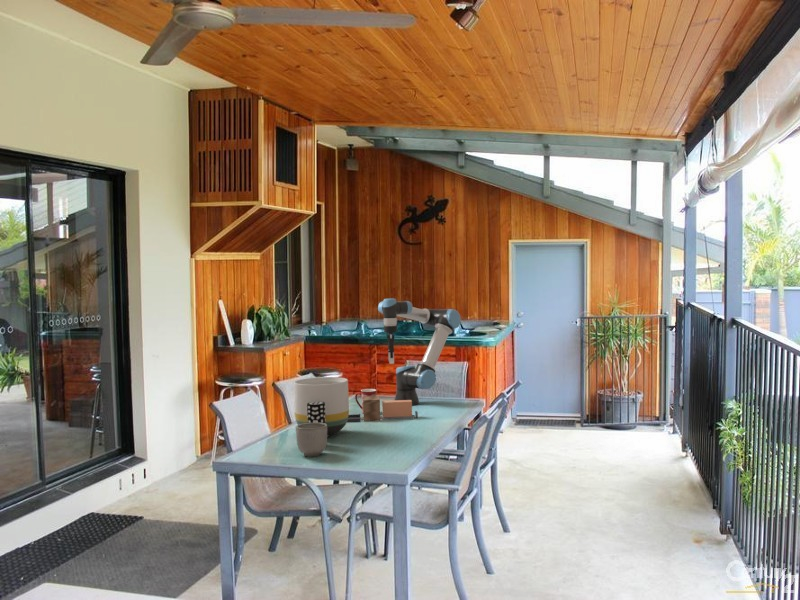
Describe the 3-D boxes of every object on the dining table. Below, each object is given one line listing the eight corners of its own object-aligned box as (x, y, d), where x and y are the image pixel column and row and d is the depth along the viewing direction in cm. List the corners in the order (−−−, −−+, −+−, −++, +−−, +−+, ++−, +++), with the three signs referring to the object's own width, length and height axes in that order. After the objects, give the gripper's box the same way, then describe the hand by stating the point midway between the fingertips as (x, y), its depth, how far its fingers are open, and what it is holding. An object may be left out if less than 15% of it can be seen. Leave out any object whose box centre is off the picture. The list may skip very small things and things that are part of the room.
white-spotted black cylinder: (304, 446, 327) (303, 403, 326) (318, 443, 332) (317, 400, 332) (315, 449, 321) (314, 405, 320) (330, 445, 327) (328, 402, 326)
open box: (363, 421, 380) (363, 400, 380) (363, 417, 392) (363, 396, 392) (380, 420, 380) (379, 399, 380) (380, 416, 392) (379, 396, 392)
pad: (382, 420, 382) (382, 419, 382) (381, 417, 391) (381, 416, 391) (413, 419, 383) (413, 418, 383) (412, 415, 392) (412, 415, 392)
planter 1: (360, 432, 354) (358, 378, 353) (325, 443, 332) (323, 386, 331) (319, 427, 369) (318, 375, 368) (284, 437, 347) (282, 382, 346)
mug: (379, 412, 405) (378, 389, 405) (373, 415, 397) (372, 391, 396) (359, 411, 410) (358, 388, 409) (353, 414, 401) (352, 390, 401)
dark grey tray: (343, 422, 379) (343, 419, 379) (344, 418, 391) (343, 414, 391) (360, 421, 380) (359, 418, 380) (360, 417, 392) (360, 414, 392)
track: (361, 420, 383) (360, 414, 383) (361, 418, 388) (360, 413, 388) (417, 418, 385) (417, 412, 385) (417, 416, 390) (416, 411, 390)
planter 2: (334, 453, 311) (333, 424, 310) (310, 460, 300) (309, 430, 300) (313, 449, 320) (312, 421, 320) (290, 455, 310) (289, 426, 309)
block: (382, 417, 384) (382, 402, 383) (382, 415, 389) (382, 400, 389) (412, 416, 384) (411, 401, 384) (411, 414, 390) (411, 399, 390)
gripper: (383, 324, 415) (384, 360, 416) (384, 327, 390) (385, 365, 391) (395, 323, 416) (397, 359, 416) (397, 326, 391) (398, 364, 391)
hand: (391, 362), depth 404 cm, fingers open, 13 cm apart
